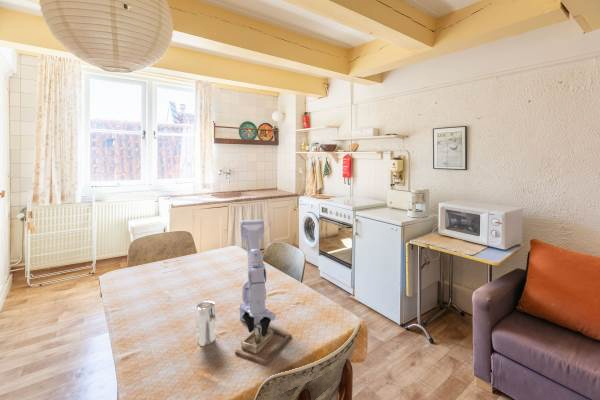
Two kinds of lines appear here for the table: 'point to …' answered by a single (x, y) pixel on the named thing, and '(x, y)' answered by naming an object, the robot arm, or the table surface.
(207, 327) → the silver metal tumbler
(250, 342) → the crate
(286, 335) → the bay
